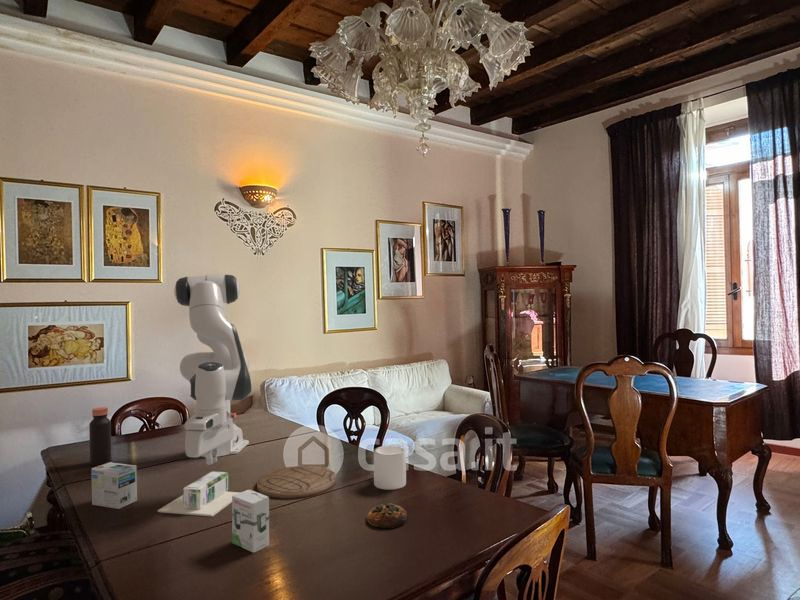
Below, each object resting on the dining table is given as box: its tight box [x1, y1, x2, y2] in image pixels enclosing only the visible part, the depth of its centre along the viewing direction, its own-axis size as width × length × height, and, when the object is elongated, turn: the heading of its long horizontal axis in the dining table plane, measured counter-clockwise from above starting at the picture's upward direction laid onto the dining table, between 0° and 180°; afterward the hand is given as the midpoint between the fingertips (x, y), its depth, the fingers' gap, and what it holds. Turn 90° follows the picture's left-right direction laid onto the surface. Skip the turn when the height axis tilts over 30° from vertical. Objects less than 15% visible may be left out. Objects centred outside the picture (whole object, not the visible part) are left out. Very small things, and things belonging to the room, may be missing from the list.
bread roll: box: [366, 502, 408, 529], centre depth 135 cm, size 11×11×5 cm
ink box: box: [231, 489, 270, 553], centre depth 122 cm, size 9×5×12 cm, turn 54°
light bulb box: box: [91, 461, 138, 510], centre depth 148 cm, size 11×7×11 cm, turn 71°
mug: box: [373, 445, 407, 490], centre depth 163 cm, size 14×10×11 cm
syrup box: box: [182, 471, 229, 509], centre depth 149 cm, size 6×6×14 cm
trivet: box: [256, 465, 337, 500], centre depth 162 cm, size 25×25×2 cm
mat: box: [157, 491, 241, 517], centre depth 147 cm, size 16×17×1 cm
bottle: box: [88, 406, 112, 467], centre depth 185 cm, size 7×7×20 cm
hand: (211, 463), depth 152 cm, fingers closed
